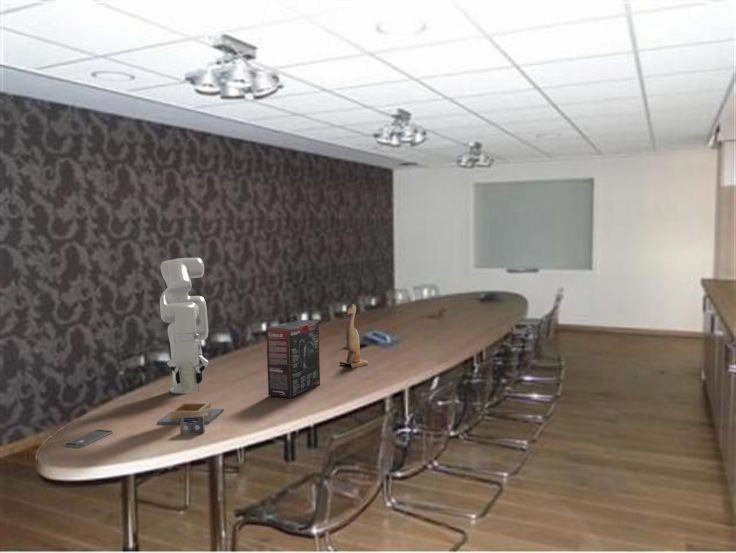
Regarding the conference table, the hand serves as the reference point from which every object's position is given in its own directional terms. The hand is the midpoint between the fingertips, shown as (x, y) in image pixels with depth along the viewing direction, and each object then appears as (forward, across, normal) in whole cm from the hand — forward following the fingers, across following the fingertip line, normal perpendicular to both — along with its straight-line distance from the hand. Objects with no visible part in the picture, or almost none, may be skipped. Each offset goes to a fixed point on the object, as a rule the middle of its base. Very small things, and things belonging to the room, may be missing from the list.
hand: (189, 382), depth 234 cm
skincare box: (+4, 0, 0) cm, 4 cm away
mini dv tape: (+14, -8, +18) cm, 24 cm away
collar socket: (+14, 0, 0) cm, 14 cm away
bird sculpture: (+14, -51, -87) cm, 102 cm away
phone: (+14, +27, +24) cm, 39 cm away
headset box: (+14, -32, -38) cm, 52 cm away
